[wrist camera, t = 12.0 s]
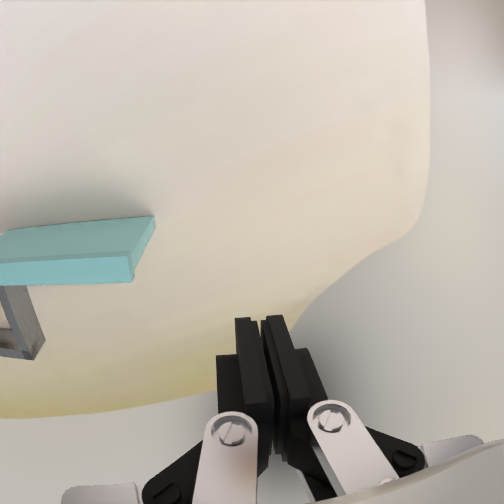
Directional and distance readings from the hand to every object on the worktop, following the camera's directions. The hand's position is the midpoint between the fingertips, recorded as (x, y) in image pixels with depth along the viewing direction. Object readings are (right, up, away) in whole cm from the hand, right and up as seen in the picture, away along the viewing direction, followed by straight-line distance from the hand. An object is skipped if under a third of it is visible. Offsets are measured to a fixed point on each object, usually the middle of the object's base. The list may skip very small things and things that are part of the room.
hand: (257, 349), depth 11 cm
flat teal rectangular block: (-15, +6, +13) cm, 21 cm away
